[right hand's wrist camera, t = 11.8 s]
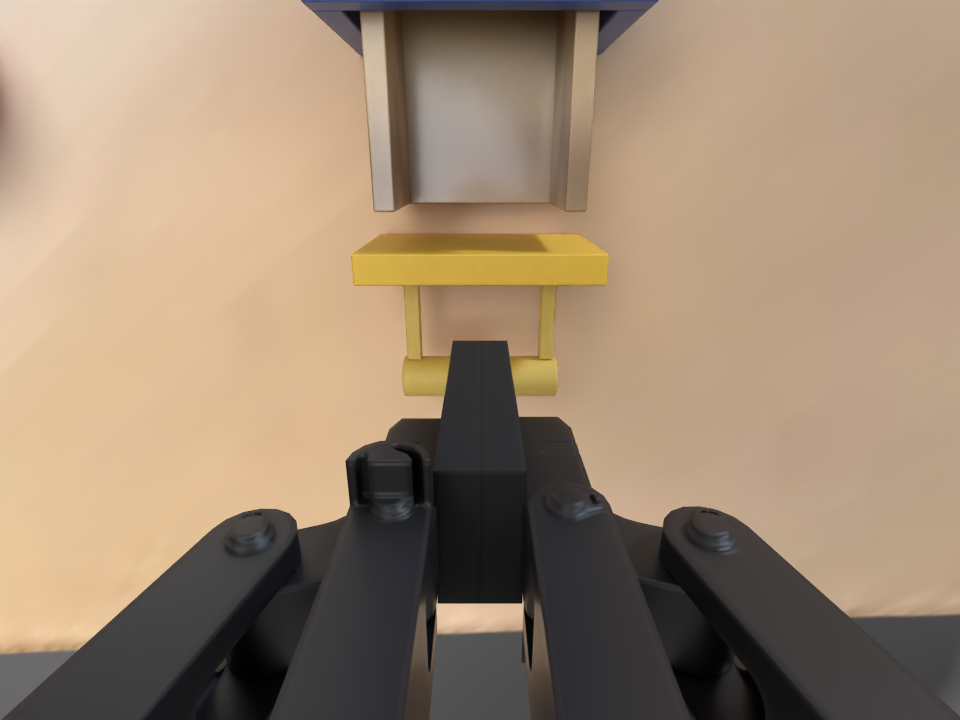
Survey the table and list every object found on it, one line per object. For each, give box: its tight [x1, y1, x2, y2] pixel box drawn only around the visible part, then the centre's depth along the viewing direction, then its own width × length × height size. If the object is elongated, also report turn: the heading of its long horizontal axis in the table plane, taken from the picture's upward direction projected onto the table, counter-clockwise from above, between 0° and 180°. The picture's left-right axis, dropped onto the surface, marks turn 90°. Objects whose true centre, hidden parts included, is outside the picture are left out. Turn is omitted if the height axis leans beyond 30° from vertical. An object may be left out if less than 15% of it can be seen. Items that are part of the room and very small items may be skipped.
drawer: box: [351, 10, 609, 396], centre depth 20 cm, size 25×10×6 cm, turn 0°
